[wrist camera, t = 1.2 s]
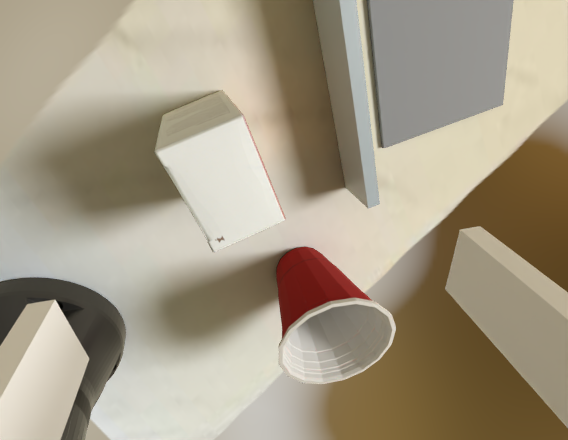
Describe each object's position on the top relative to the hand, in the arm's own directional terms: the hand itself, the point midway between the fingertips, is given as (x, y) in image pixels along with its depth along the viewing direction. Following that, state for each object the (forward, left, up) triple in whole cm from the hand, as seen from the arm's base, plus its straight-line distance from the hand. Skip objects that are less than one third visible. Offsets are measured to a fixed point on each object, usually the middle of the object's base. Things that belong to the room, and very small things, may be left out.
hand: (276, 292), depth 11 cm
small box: (-1, -1, -22) cm, 22 cm away
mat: (+22, 0, -21) cm, 31 cm away
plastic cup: (+3, -18, -22) cm, 28 cm away
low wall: (+11, 0, -21) cm, 24 cm away
